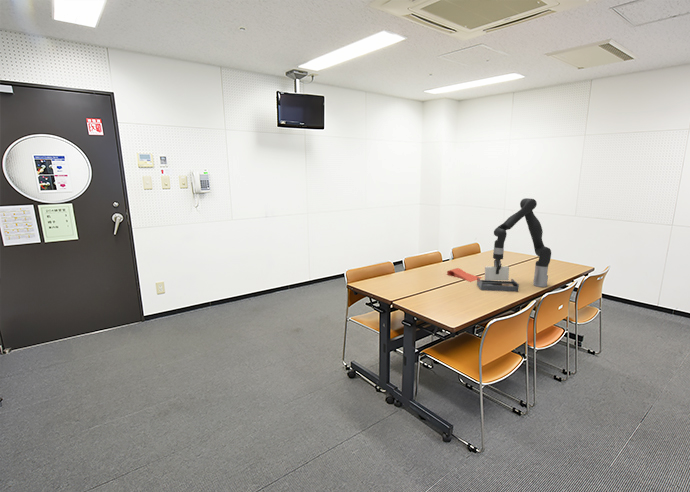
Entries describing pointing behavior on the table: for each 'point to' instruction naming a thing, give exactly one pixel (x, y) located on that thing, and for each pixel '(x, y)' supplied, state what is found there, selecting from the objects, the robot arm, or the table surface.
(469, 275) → the sheet
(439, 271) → the table surface
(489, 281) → the rack
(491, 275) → the white flat board
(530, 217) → the robot arm
